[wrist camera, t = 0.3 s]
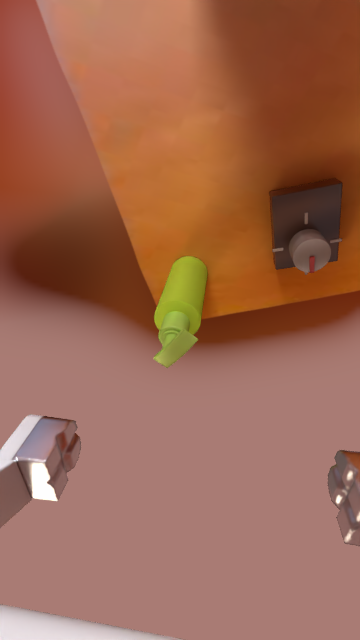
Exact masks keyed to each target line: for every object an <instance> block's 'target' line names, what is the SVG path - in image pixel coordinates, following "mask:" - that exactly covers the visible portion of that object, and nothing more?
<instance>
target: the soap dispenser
mask: <svg viewBox="0 0 360 640" xmlns="http://www.w3.org/2000/svg"><path fill="white" fill-rule="evenodd" d="M207 275H208V273H207V268H206V266H205V264H204V263H203V262H202V261H201V260H199V259H198V258H195V257H192V256H185V257H181V258H179V259H178V260H176V261H175V262H174V264H173V266H172V268H171V271H170V273H169V276H168V279H167V281H166V284H165V287H164V290H163V292H162V295H161V298H160V300H159V303H158V306H157V308H156V311H155V315H154V321H155V324H156V326H157V328H158V329H159V330H160V331H159V340H160V342H161V343H162V344H163V347H162V350H161V351H160V352H158V353H157V354H156V355H155V356H154V360H156V361H157V362H159V363H160V364H162V365H163V366H165V367H166V368H168V367H169V366H171V365H172V364H173V363H175V362H176V361H177V360H178V359H179V358H180V357H182V356H183V355H184V354H185V353H186V352H187V351H188V350H189V349H190V348H191V347H192V346H193V345H194V344H195V343H196V342H197V340H198V339H197V338H196V337H195V336H193V335H194V334H195V333H196V332H197V331H198V329H199V327H200V323H201V316H202V310H203V303H204V296H205V289H206V282H207Z"/></svg>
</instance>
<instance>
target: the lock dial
mask: <svg viewBox="0 0 360 640" xmlns="http://www.w3.org/2000/svg"><path fill="white" fill-rule="evenodd" d="M289 252H290V255H291V257H292V260H293V262H294V265H295V266H296V267H297V268H298V269H299V270H301V271H304V272H310V273H313V272H314V271H317V270H319V269H321V268H322V267H324V266H325V265H326V264H327V262H328V261H329V259H330V256H331V248H330V246H329V244H328V243H327V241H326V240H325V239H324V237H323V236H322V234H321V233H320V232H318V231H317V230H314V229H305V230H302V231H300V232H298V233H297V234H295V235H294V236H293V238H292V239H291V241H290V243H289Z"/></svg>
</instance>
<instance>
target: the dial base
mask: <svg viewBox="0 0 360 640" xmlns="http://www.w3.org/2000/svg"><path fill="white" fill-rule="evenodd" d="M269 196H270V212H271V227H272V243H273V249H272V251H273V259H274V264H275V268H276V270H277V269H284V268H291V267H296V266H295V265H294V262H293V260H292V257H291V255H290V252H289V243H290V241H291V239H292V238H293V236H294V235H295V234H297V233H298V232H300V231H302V230H305V229H314V230H317V231H318V232H320V233H321V234H322V236H323V237H324V239H325V240H326V241H327V243H328V244H329V246H330V248H331V256H330V259H329V261H328V262H333V261H337V260H338V245H339V242H340V241H342V238H340V239H339V229H340V213H341V197H342V182H340V181H339V180H337V179H336V178H333V179H328V180H323V181H318V182H313V183H308V184H304V185H299V186H294V187H289V188H284V189H279V190H274V191H270V192H269ZM306 274H308V272H305V275H306Z"/></svg>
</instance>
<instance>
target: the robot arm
mask: <svg viewBox="0 0 360 640" xmlns="http://www.w3.org/2000/svg"><path fill="white" fill-rule="evenodd" d="M76 430H77V425H76V421H74V420H67V419H61V418H54V417H47V416H39V415H28V416H27V417H25V418H24V419H23V421H22V422H21V424H20V425H19V426H18V427H17V429H16V430H15V431H14V433H13V434H12V435H11V437H10V438H9V439H8V440H7V442H6V443H5V444H4V446H3V447H2V448H1V450H0V528H1V527H2V526H3V525H4V524H5V523H6V522H7V521H9V520H10V519H11V518H12V517H13V516H14V515H15V514H16V513H18V512H19V511H20V510H21V509H22V508H23V507H24V506H25V505H26V504H28V502H30V501H31V498H35V499H44V500H52V501H58V500H59V498H60V496H61V494H62V492H63V490H64V488H65V486H66V484H67V481H68V478H67V472H69V471H70V470H71V469H73V468H74V467H75V465H76V462H77V460H78V458H79V454H80V450H81V441H80V437H79V436H78V435H77V434H76V433H75V431H76ZM335 461H336V465H334V466H332V467H331V468H330V471H329V474H328V489H329V494H330V497H331V501H332V502H333V503H334V504H335V505H336V506H337V508H338V509H339V510H340V511H339V513H338V515H337V521H338V524H339V527H340V530H341V533H342V537H343V540H344V543H345V544H350V545H356V546H360V452H354V451H345V450H340V451H338V452H337V453H336V456H335ZM0 640H184V639H179V638H174V637H169V636H164V635H158V634H153V633H148V632H143V631H137V630H132V629H127V628H122V627H117V626H112V625H107V624H101V623H96V622H91V621H86V620H81V619H75V618H70V617H64V616H60V615H55V614H50V613H44V612H39V611H34V610H28V609H24V608H18V607H13V606H8V605H3V604H0Z"/></svg>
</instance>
